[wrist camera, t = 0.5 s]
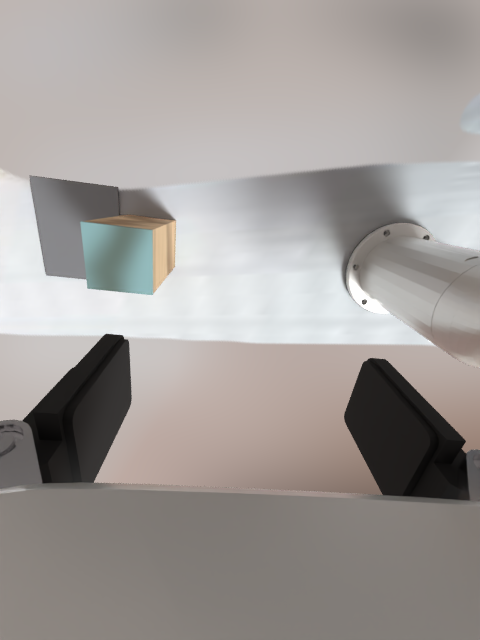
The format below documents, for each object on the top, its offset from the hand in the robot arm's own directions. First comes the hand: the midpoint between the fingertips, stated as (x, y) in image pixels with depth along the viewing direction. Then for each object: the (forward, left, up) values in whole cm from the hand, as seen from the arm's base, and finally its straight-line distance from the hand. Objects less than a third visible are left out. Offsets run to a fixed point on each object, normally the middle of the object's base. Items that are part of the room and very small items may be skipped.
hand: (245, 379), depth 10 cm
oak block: (+11, 0, -29) cm, 30 cm away
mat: (+20, 0, -28) cm, 35 cm away
